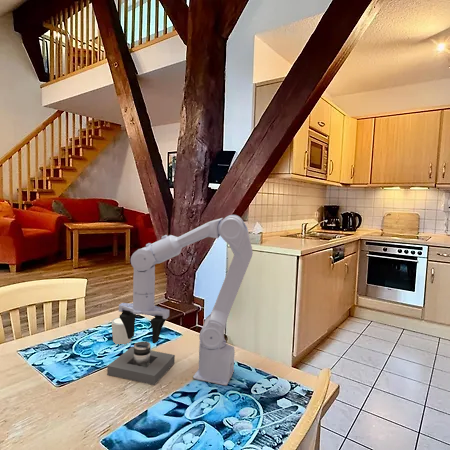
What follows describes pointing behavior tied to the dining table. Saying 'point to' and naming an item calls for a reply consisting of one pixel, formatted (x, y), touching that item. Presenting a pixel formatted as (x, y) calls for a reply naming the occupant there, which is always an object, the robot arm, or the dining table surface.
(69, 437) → the dining table surface
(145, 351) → the lens
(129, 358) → the square peg hole
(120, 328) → the white cylinder
